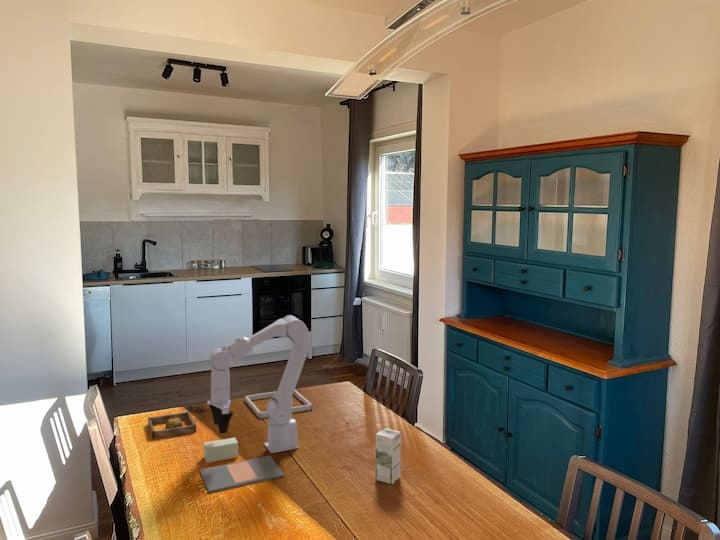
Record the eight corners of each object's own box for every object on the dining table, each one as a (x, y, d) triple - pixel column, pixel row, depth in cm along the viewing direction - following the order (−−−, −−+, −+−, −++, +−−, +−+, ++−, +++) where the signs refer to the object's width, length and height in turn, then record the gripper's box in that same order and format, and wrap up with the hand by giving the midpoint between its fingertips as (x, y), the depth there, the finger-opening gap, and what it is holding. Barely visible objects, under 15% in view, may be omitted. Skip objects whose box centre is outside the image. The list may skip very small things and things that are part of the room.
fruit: (173, 435, 191) (172, 425, 191) (159, 430, 196) (158, 420, 196) (192, 428, 198) (192, 418, 198) (179, 423, 203) (178, 413, 202)
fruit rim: (189, 417, 207) (189, 411, 207) (196, 431, 194) (195, 425, 194) (148, 424, 201) (148, 417, 200) (152, 439, 188) (152, 432, 187)
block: (235, 452, 179) (235, 437, 178) (238, 457, 175) (238, 442, 174) (204, 457, 175) (203, 442, 174) (206, 463, 171) (206, 448, 170)
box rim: (294, 393, 236) (294, 388, 236) (312, 409, 217) (312, 404, 216) (244, 400, 226) (244, 395, 226) (259, 418, 207) (259, 413, 207)
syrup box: (400, 477, 162) (401, 430, 160) (391, 486, 157) (392, 437, 155) (384, 472, 165) (384, 426, 163) (374, 481, 160) (375, 433, 158)
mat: (270, 457, 175) (270, 455, 175) (284, 476, 162) (284, 474, 162) (199, 471, 165) (199, 469, 165) (208, 492, 152) (208, 490, 152)
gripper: (203, 381, 177) (203, 422, 178) (212, 395, 164) (212, 438, 165) (224, 379, 180) (224, 419, 181) (235, 392, 167) (235, 435, 169)
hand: (220, 428), depth 174 cm, fingers open, 7 cm apart
